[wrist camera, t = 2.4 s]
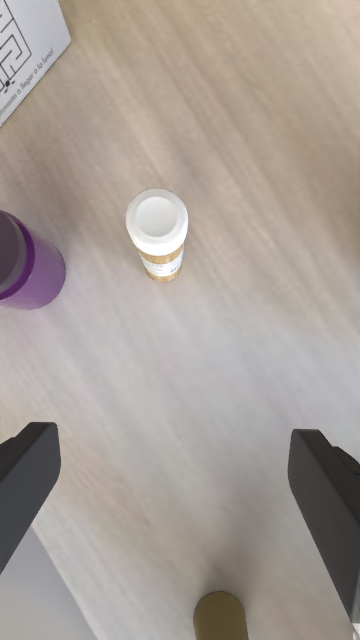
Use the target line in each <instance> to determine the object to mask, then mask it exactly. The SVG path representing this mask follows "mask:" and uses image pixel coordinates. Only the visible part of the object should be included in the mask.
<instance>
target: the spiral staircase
mask: <svg viewBox="0 0 360 640" xmlns="http://www.w3.org/2000/svg"><path fill="white" fill-rule="evenodd" d="M353 625H354V628H355V630H356V632H353V638H354V640H360V624H356V623H353Z"/></svg>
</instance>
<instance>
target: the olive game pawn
mask: <svg viewBox="0 0 360 640" xmlns="http://www.w3.org/2000/svg"><path fill="white" fill-rule="evenodd" d="M193 618H194V629H195V634H196V639H197V640H249V639H248V632H247V625H246V617H245V612H244V609H243V606H242V604H241V603H240V602H239V600H238V599H237V598H236V597H234V596H233V595H231V594H229V593H225V592H214V593H211V594H209V595H207V596H205V597H204V598H203V599H202V600H201V601H200V602H199V604H198V605H197V607H196V609H195V613H194V617H193Z"/></svg>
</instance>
